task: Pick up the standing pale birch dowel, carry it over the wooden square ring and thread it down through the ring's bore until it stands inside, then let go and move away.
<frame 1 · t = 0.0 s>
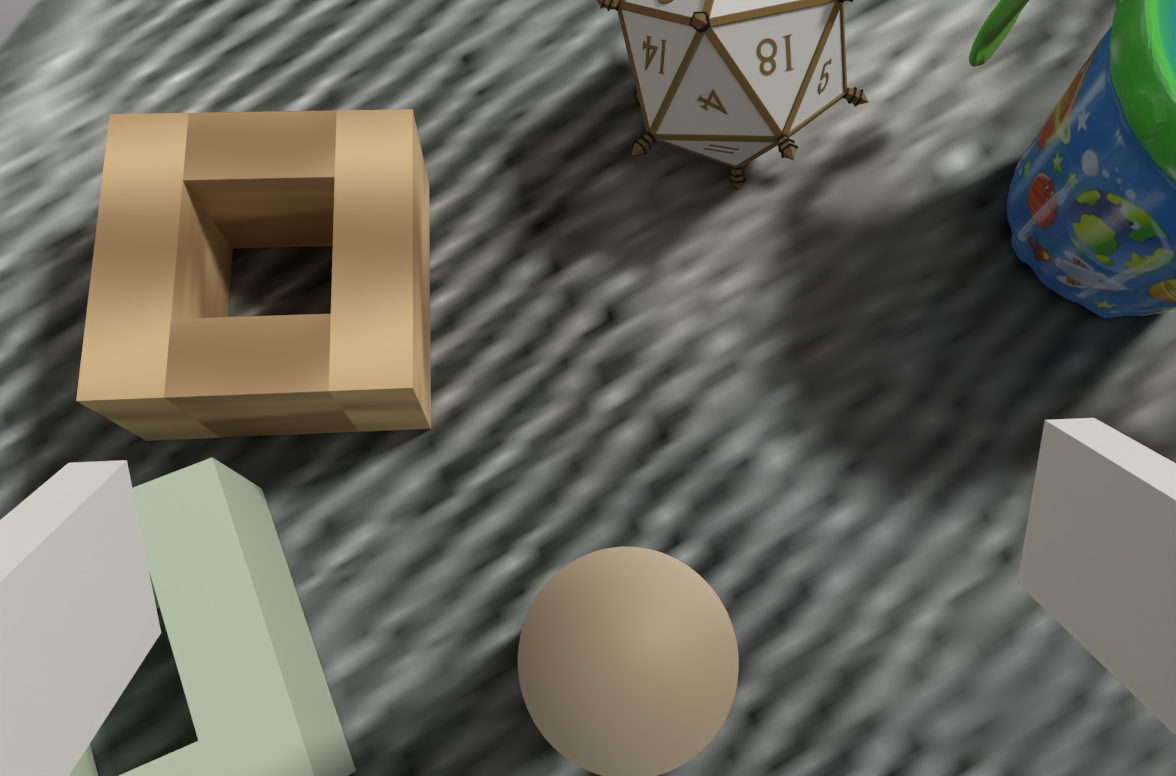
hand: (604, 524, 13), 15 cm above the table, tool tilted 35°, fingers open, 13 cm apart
wooden square ring: (295, 305, 30), on the table
sage bead: (159, 686, 26), on the table
dowel: (581, 659, 27), on the table
snack cup: (1094, 233, 33), on the table
game die: (710, 123, 33), on the table
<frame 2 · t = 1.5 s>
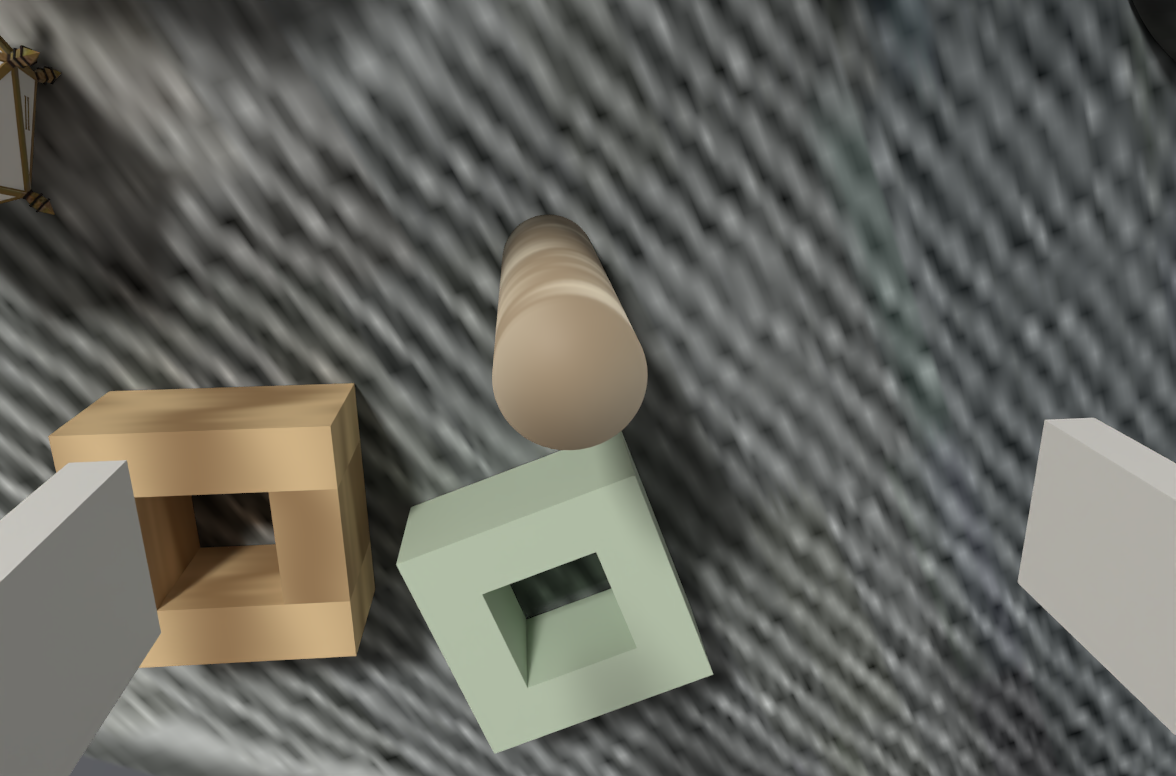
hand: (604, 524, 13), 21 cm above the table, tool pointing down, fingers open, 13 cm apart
wooden square ring: (249, 495, 34), on the table
sage bead: (555, 559, 36), on the table
dowel: (548, 261, 32), on the table
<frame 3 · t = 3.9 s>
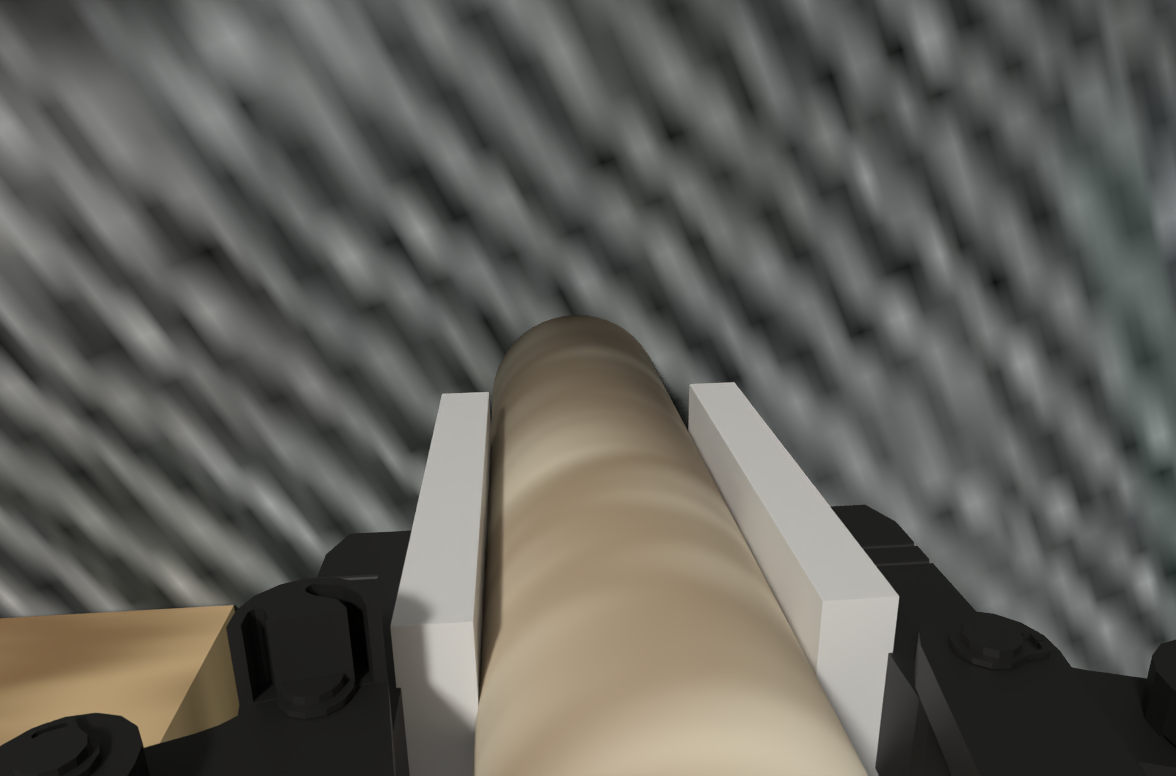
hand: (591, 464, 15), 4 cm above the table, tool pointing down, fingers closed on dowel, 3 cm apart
dowel: (575, 395, 18), on the table, touching gripper
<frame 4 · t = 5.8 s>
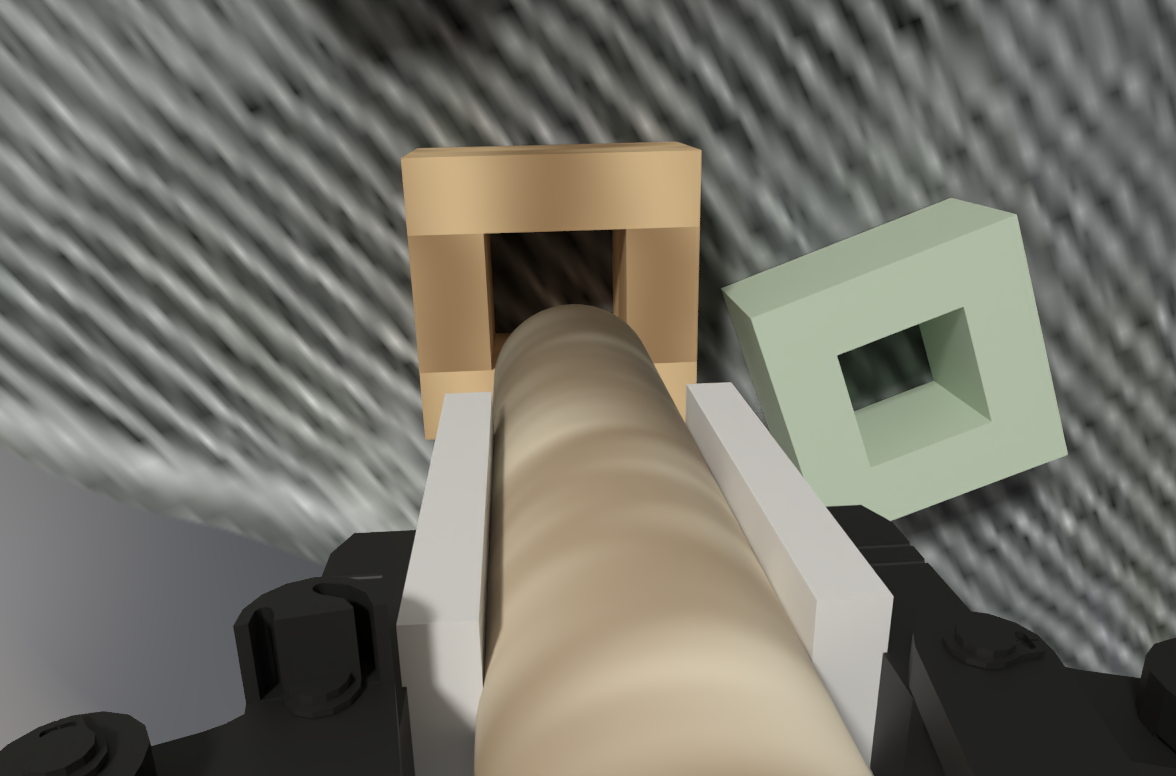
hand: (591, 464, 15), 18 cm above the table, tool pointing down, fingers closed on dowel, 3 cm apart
wooden square ring: (552, 272, 32), on the table
sage bead: (866, 351, 34), on the table
dowel: (573, 381, 19), point 14 cm above the table, touching gripper
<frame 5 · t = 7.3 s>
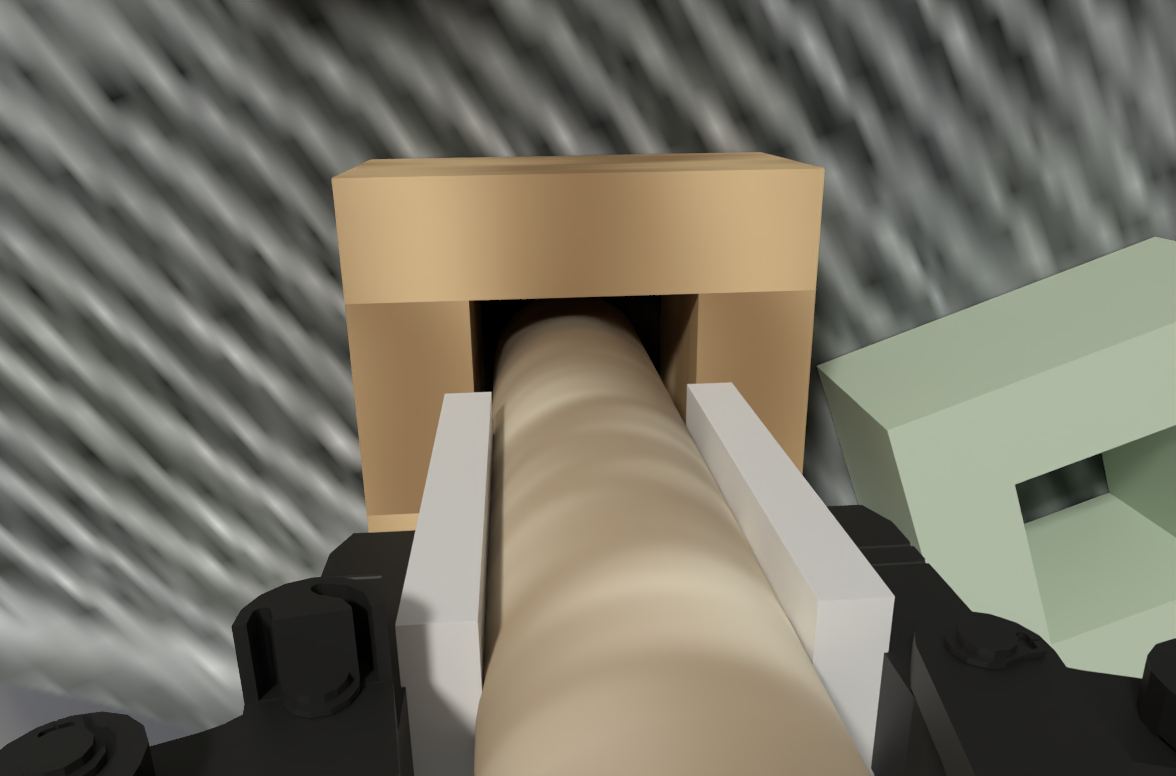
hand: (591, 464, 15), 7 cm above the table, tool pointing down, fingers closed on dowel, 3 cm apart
wooden square ring: (572, 343, 22), on the table
sage bead: (1018, 453, 24), on the table
dowel: (568, 364, 20), point 2 cm above the table, touching gripper
when the fingers open (6 cm above the table, at t = 7.8 s): dowel stays where it is, resting in wooden square ring.
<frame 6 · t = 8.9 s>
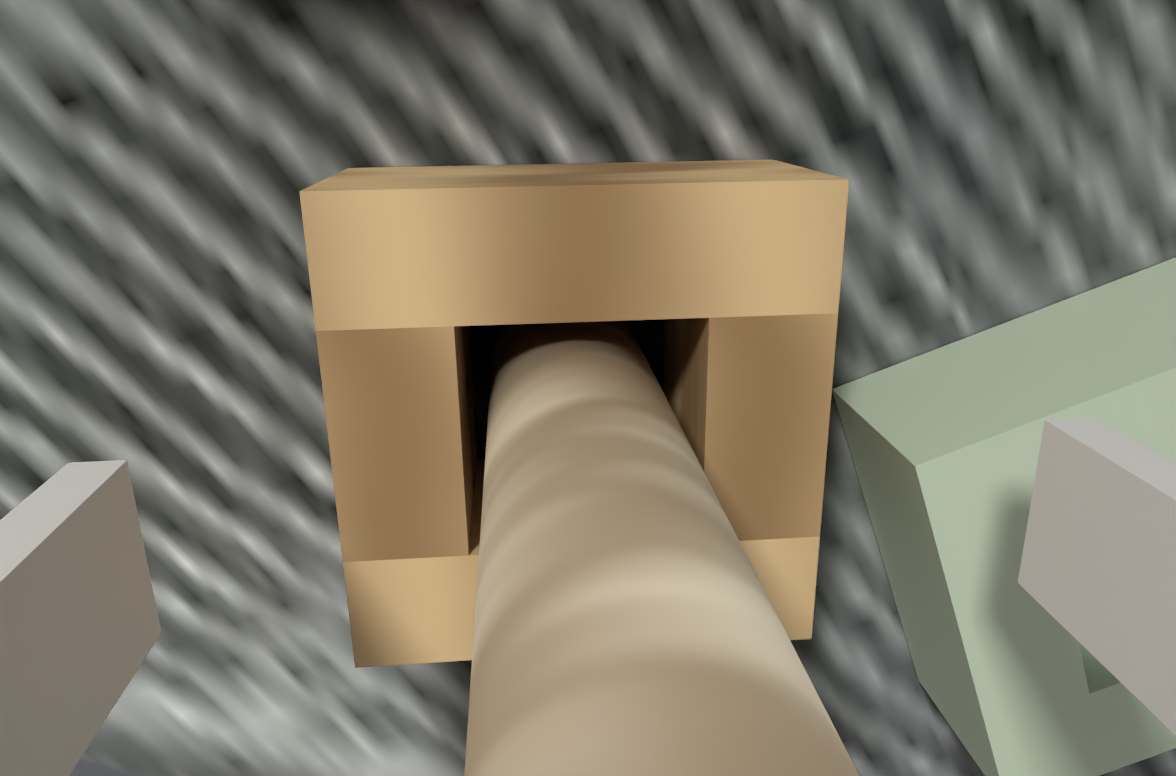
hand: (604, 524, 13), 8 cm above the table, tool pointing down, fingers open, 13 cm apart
wooden square ring: (568, 366, 20), on the table
sage bead: (1046, 481, 22), on the table
dowel: (566, 366, 20), resting in wooden square ring
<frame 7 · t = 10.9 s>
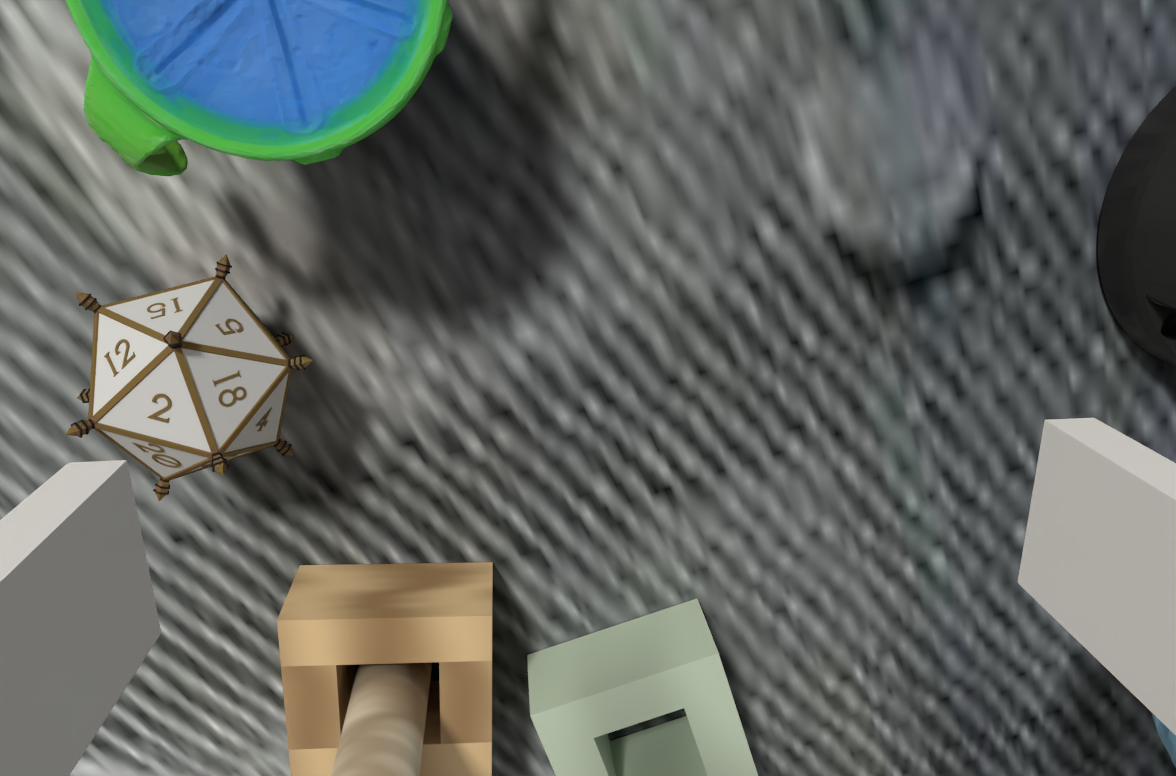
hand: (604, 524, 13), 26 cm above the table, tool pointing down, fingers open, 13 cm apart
wooden square ring: (400, 644, 43), on the table
sage bead: (637, 695, 45), on the table
dowel: (399, 644, 43), resting in wooden square ring
snack cup: (324, 0, 34), on the table
game die: (224, 348, 38), on the table
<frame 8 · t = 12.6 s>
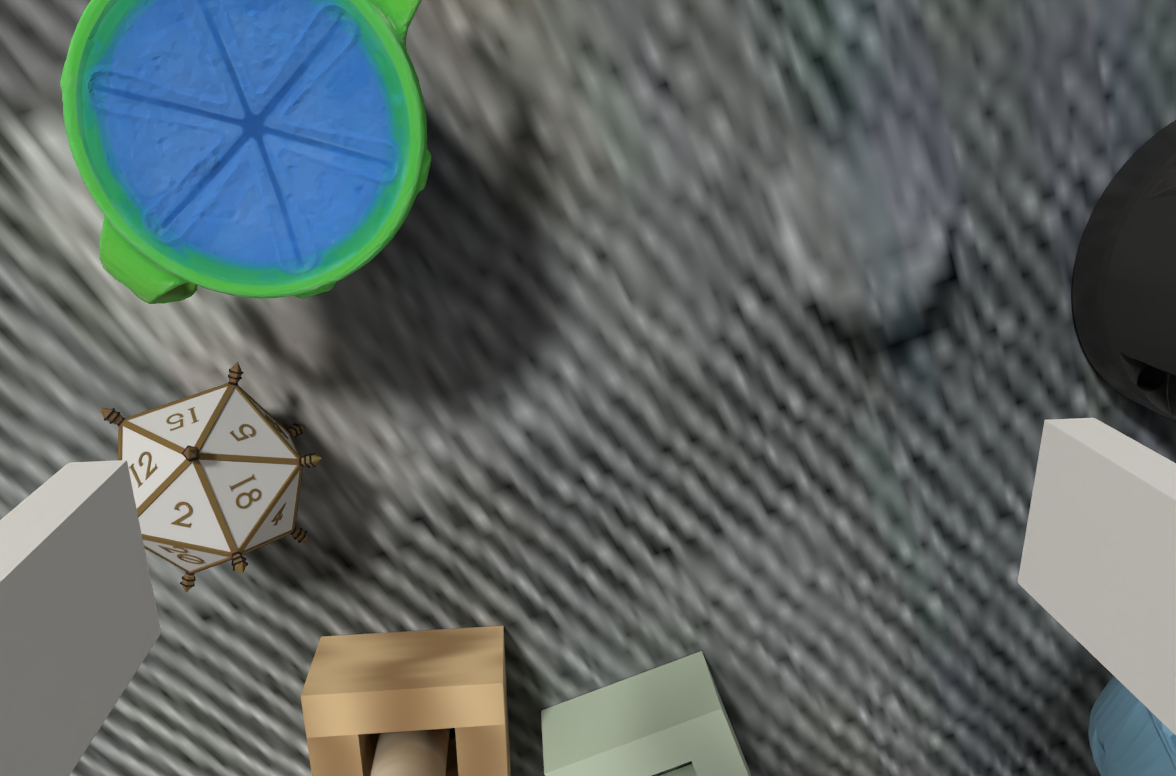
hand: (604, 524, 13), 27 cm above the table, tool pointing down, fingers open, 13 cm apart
wooden square ring: (419, 705, 45), on the table
sage bead: (649, 744, 47), on the table
dowel: (418, 705, 45), resting in wooden square ring
snack cup: (318, 118, 36), on the table
game die: (241, 440, 40), on the table
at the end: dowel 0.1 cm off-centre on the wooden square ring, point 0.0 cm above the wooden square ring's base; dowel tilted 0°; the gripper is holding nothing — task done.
